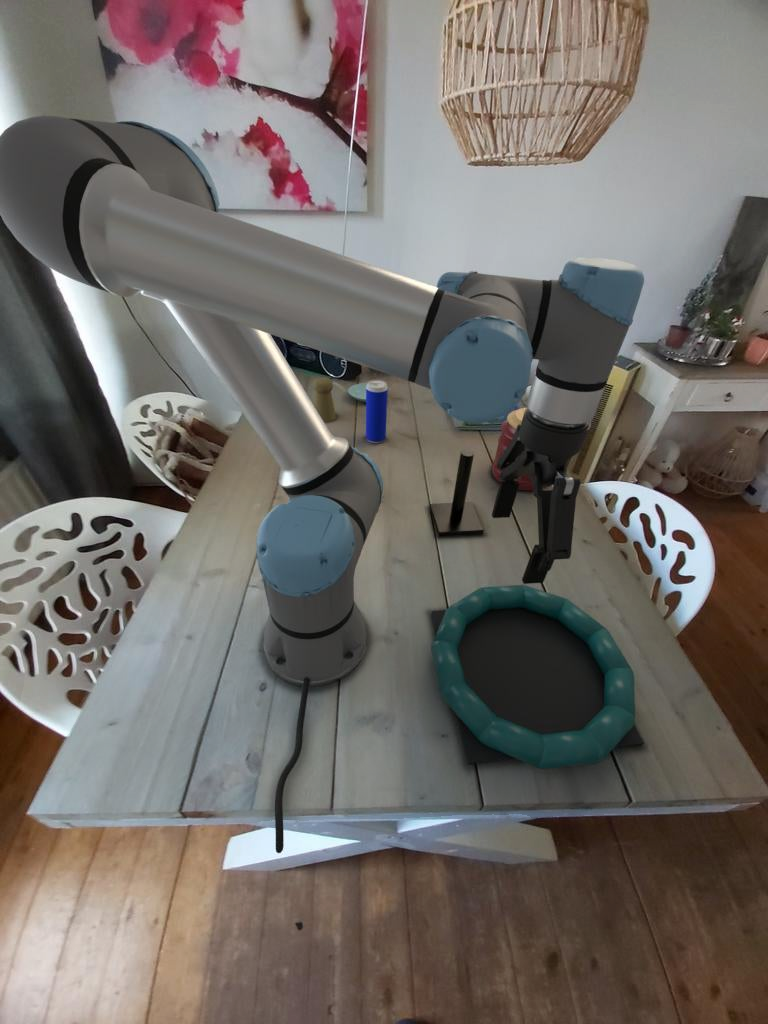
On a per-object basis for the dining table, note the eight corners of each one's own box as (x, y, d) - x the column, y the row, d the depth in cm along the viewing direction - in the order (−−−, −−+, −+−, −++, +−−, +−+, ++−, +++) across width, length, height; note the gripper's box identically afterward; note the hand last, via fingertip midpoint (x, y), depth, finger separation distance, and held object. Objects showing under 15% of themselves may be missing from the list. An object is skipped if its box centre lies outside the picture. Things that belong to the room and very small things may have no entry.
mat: (642, 745, 56) (644, 743, 56) (468, 764, 54) (468, 762, 53) (565, 603, 74) (566, 601, 74) (431, 613, 71) (431, 610, 71)
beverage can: (387, 435, 116) (390, 381, 106) (382, 445, 112) (384, 389, 102) (369, 432, 117) (369, 378, 107) (363, 442, 113) (363, 386, 103)
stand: (483, 534, 87) (499, 465, 77) (438, 536, 86) (448, 467, 76) (470, 506, 94) (484, 439, 83) (429, 508, 93) (437, 440, 82)
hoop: (671, 758, 54) (685, 746, 52) (458, 783, 52) (462, 771, 49) (574, 590, 75) (580, 576, 73) (418, 601, 72) (420, 586, 70)
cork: (312, 413, 124) (309, 375, 118) (333, 411, 126) (331, 373, 119) (316, 423, 120) (313, 384, 113) (337, 420, 122) (336, 382, 115)
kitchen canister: (489, 458, 109) (503, 391, 98) (542, 463, 108) (563, 395, 97) (493, 489, 99) (510, 417, 88) (552, 494, 98) (576, 423, 87)
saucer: (372, 386, 140) (372, 379, 139) (394, 400, 133) (395, 393, 131) (340, 395, 134) (340, 388, 133) (362, 409, 127) (362, 402, 126)
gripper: (650, 473, 42) (577, 613, 55) (546, 371, 61) (511, 493, 74) (576, 476, 41) (520, 617, 54) (494, 371, 60) (468, 495, 73)
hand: (515, 546), depth 64 cm, fingers open, 13 cm apart
